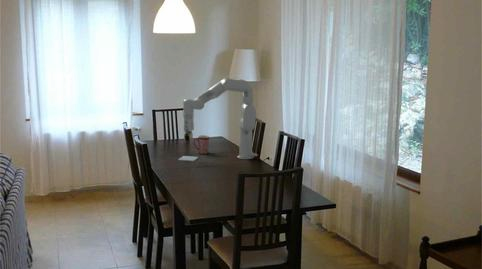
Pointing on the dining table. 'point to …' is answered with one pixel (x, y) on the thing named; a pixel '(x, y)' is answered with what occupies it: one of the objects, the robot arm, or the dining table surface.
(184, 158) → the pad
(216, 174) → the dining table surface
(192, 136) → the maple block
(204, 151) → the mug
